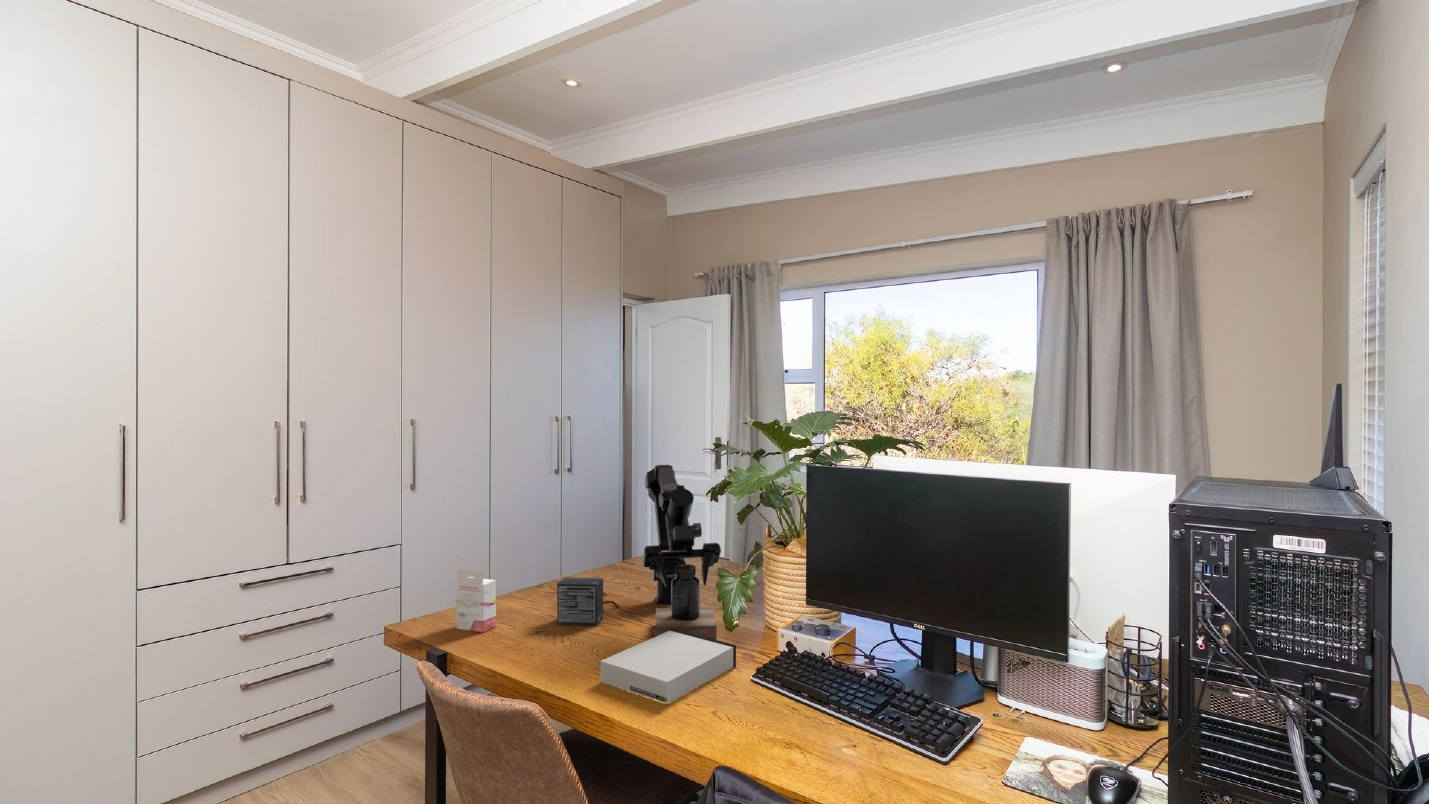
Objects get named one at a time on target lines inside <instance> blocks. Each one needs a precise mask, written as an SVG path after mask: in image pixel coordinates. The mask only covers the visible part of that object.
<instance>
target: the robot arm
mask: <svg viewBox="0 0 1429 804" xmlns="http://www.w3.org/2000/svg"><path fill="white" fill-rule="evenodd" d="M644 481H645V482H644V486H645V489H647V496H648V497H649V498H650V499H651V501H652V502H653V503H654V510H655V521H656V530H657V540H658V541H657V542H658V544H657V545H656V544H655V545H646V546H645V547H644V549H643V555H642V564H643V565H642V566H643V567H644V568H649V570H650V572H651V575H650V576H651V578H652V581H653V582H656V588H657V589H656V591H657V592H656V595H655V604H671V582H672V580H673V578H675V577H676V575H675V572H676V566H678V565H683V564H687V562H686V561H685V559H694V558H695V559H696V558H697V559H698V558H699V559H700V558H701V576H702V583H703V586H706V584H707V581H708V575H709V569H710V567H713V566H714V565H716V564H717V563H719V559H720V556H721V552H722V549H721V545H720V544H719V543H718V542H704V543H703V546H702V548H697V549H695V548H693V547H695V539H696V538H701V536H702V535H703V531H702V525H701V524H702V523H701V522H695V523H693V524H692V525H690V523H689V517H690V515H691V514H692V513H691V512H692V508H693V504H694V498H695V497H694V494H693V492H691V490H689V489H687V488H685V485H681V484H678V481H677V479H676V473H675V470H674V467H673V465H670V464H657V465H654V468H653V469H651V470H649V471H647V472H646V475H645V479H644Z"/></svg>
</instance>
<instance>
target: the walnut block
mask: <svg viewBox="0 0 1429 804" xmlns="http://www.w3.org/2000/svg"><path fill="white" fill-rule="evenodd" d="M669 629H675V630H679V631H683V632H687V633H691V634H695V635H698V636H702V637H706V638H710V639H714V640H718V639H717V629H718V627H717V622H716V618H715V614H714V610H713V607H712V606H705V607H703V606H702V607H701V606H700V615H699V617H698V618H697V619H694V620H688V621H682V620H676V619H674V618H673V617H672V614H671V607H663V608H660V607H659V608H658V607H657V608H656V609H655V637H656V636H659V635H661V634H663V633H665V632H668V631H669Z"/></svg>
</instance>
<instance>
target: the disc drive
mask: <svg viewBox="0 0 1429 804" xmlns="http://www.w3.org/2000/svg"><path fill="white" fill-rule="evenodd" d="M736 666H737V645H736V644H732V643H728V642H724V641H721V640H718V639H717V640H714V639H710V638H706V637H702V636H698V635H695V634H691V633H687V632H683V631H679V630H675V629H669V631H668V632H665V633H663V634H661V635H659V636H656V635H655V636H653V637H652V638H650V639H647V640H645V641H643V642H641V643H638V644H636V645H633V646H631V647H629V648H627V649H625V650H622V651H620V652H617V653H615V654H613V655H611V656H608V657H607V658H605V659H602V660H600V683H601V682H603V683H606V684H610V685H611V686H610V687H612V686H614V687H613V688H615V687H619V688H621V689H624V690H628V691H630V692H632V693H631V694H633V693H637V694H639V695H641V696H646V697H649V698H651V699H656V700H658V701H660V702H665V703H667V704H668V703H669V702H672V701H674V700H675V699H677V700H679V699H680V698H679V697H681V696H683V695H684V696H686V695H687V694H686V693H688V694H690V693H691V692H693V691H694V689H695V688H696V687H698V688H700V687H702V686H703V685H705V684H707V683H708V681H709V682H711V681H712V680H713V679H716V678H718V677H719V676H720V675H723V674H724V673H726V672H727V671H729V670H731V669H732V668H736ZM706 682H707V683H706ZM603 683H602V684H603ZM606 684H605V685H606ZM702 684H703V685H702ZM701 685H702V686H701ZM699 686H700V687H699ZM621 689H620V690H621ZM696 689H697V688H696ZM696 689H695V690H696ZM624 690H623V691H624ZM692 690H693V691H692ZM690 691H691V692H690ZM630 692H629V693H630ZM685 694H686V695H685ZM641 696H640V697H641ZM684 696H683V697H684ZM678 698H679V699H678ZM681 698H682V697H681ZM674 702H675V701H674ZM672 703H673V702H672Z"/></svg>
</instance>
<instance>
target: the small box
mask: <svg viewBox="0 0 1429 804" xmlns="http://www.w3.org/2000/svg"><path fill="white" fill-rule="evenodd" d="M556 588H557V590H556V591H557V592H556V595H557V597H556V598H557V600H556V601H557V607H556V608H557V609H556V613H557V619H556V621H557V622H556V625H557V624H564V625H563V626H565V624H567V625H566V626H591V625H595V626H599V624H600V623H601V621H602V620H603V619H604V617H605V616H604V604H603V602H604V595H603V592H604V578H603V577H601V578H599V577H597V578H596V577H595V578H593V577H564V578H562V579H561V580H560V581H558V582H557V583H556ZM568 624H570V625H568ZM571 624H572V625H571ZM575 624H576V625H575ZM595 626H594V627H595Z"/></svg>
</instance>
